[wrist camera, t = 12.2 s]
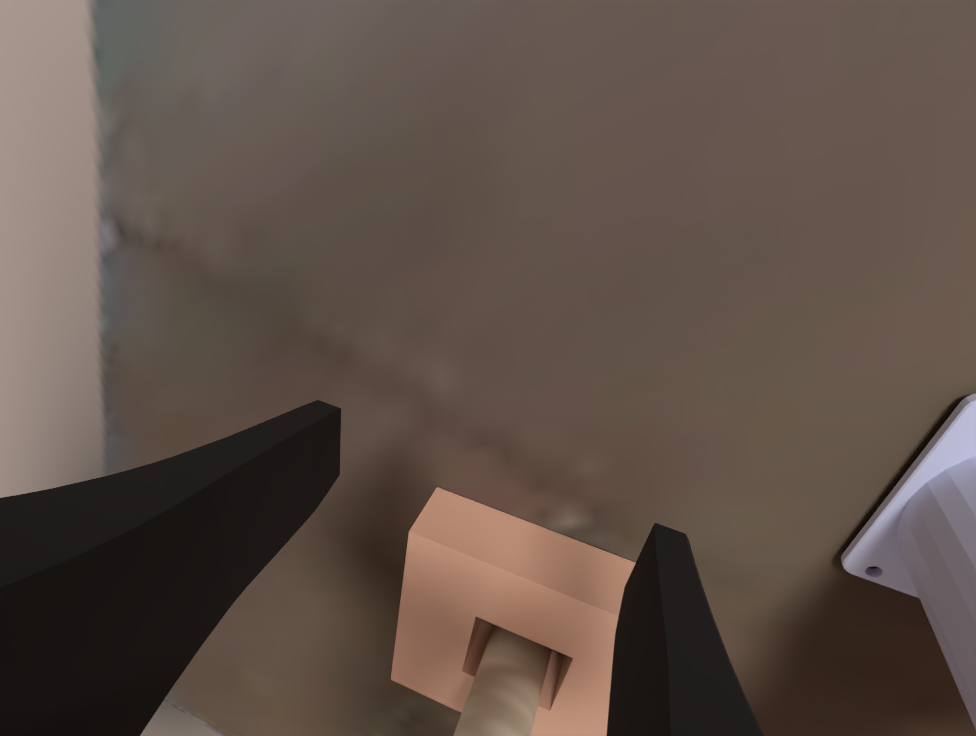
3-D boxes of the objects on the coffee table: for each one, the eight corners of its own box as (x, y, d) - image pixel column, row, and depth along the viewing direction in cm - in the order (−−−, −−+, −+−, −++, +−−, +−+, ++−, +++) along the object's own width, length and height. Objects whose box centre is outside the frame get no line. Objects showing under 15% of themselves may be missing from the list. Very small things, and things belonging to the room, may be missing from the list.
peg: (558, 598, 26) (511, 774, 20) (560, 638, 28) (516, 815, 21) (500, 585, 27) (437, 748, 21) (505, 624, 29) (447, 789, 22)
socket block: (689, 583, 23) (688, 644, 21) (611, 720, 29) (603, 779, 27) (437, 487, 25) (408, 531, 23) (414, 632, 32) (390, 679, 29)
